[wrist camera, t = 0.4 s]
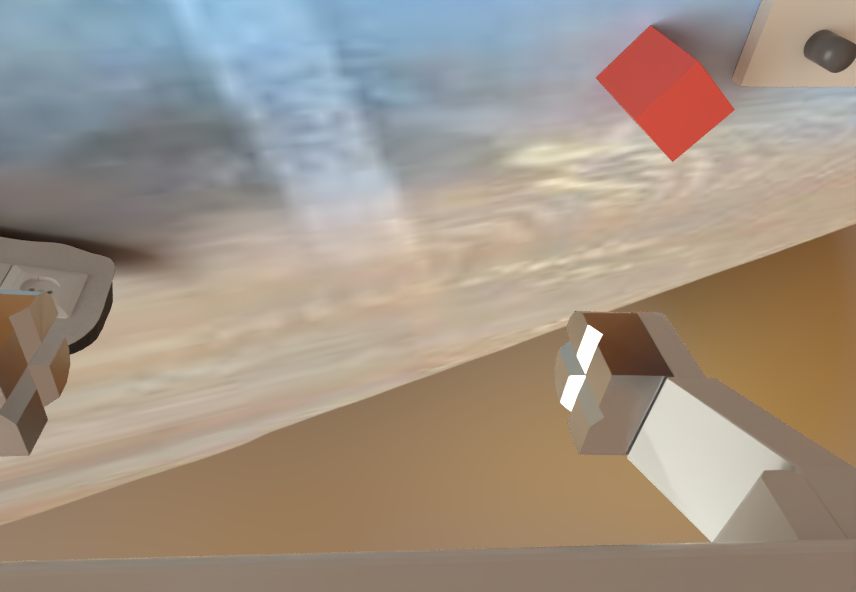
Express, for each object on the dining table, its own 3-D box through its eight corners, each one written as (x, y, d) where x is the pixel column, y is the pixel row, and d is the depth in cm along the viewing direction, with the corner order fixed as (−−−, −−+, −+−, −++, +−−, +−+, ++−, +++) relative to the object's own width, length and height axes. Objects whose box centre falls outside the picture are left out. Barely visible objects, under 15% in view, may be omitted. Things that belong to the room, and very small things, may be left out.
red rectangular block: (595, 77, 50) (634, 119, 45) (650, 25, 48) (699, 61, 42) (631, 117, 53) (672, 161, 47) (684, 69, 51) (734, 109, 45)
